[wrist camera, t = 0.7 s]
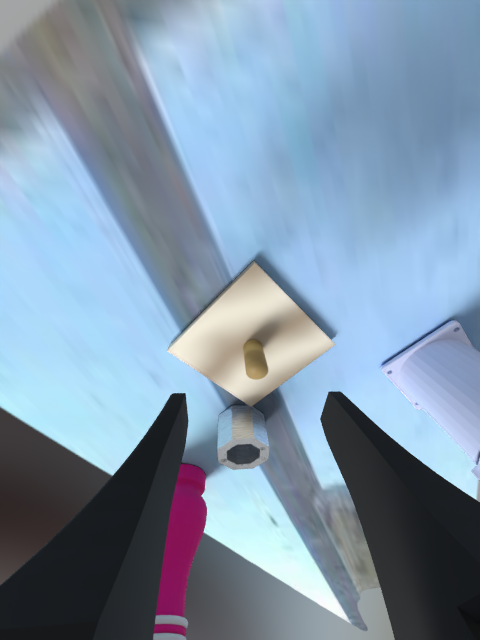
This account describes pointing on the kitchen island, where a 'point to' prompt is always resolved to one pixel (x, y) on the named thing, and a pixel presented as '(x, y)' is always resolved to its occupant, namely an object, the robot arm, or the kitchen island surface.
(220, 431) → the collar
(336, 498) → the kitchen island surface
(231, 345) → the post block
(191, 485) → the pepper mill
